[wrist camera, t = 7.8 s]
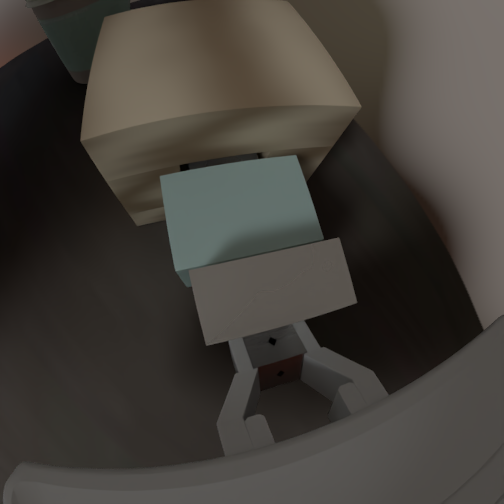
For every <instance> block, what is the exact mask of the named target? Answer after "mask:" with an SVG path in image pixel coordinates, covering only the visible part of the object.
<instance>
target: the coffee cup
mask: <svg viewBox="0 0 504 504" xmlns="http://www.w3.org/2000/svg"><path fill="white" fill-rule="evenodd" d="M26 2H27V3H26V7H27V8H32V9H33V12H34V14H35V15H36V17H37V19H38V21H39V23H40V25H41V26H42V28H43V30H44V31H45V33H46V35H47V37H48V38H49V40H50V42H51V44H52V45H53V47H54V49H55V50H56V52H57V54H58V55H59V57H60V59H61V60H62V62H63V63H64V65H65V67H66V68H67V70H68V71H69V73H70V74H71V76H72V78H73V79H74V80H75V81H76V82H78V83H82V84H88V81H89V76H90V71H91V66H92V61H93V57H94V53H95V49H96V45H97V41H98V37H99V34H100V30H101V27H102V24H103V20H104V17H106V16H110V15H114V14H117V13H121V12H125V11H130V0H26Z"/></svg>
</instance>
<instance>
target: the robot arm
mask: <svg viewBox="0 0 504 504" xmlns="http://www.w3.org/2000/svg"><path fill="white" fill-rule="evenodd" d="M228 342H229V347H230V352H231V357H232V361H233V365H234V368H235V371H236V374H235V375H234V378H233V381H232V383H231V386H230V389H229V392H228V394H227V397H226V400H225V402H224V405H223V408H222V410H221V413H220V416H219V418H218V421H217V428H218V432H219V435H220V439H221V443H222V446H223V450H224V454H225V456H224V457H219V458H214V459H209V460H204V461H198V462H191V463H185V464H177V465H169V466H159V467H146V468H126V469H95V468H76V467H64V466H54V465H46V464H40V463H34V462H27V461H24V462H21V463H20V464H19V465H18V466H17V467H16V468H15V470H14V471H13V473H12V474H11V475H10V477H9V478H8V480H7V482H6V484H5V487H4V493H3V504H504V315H502V316H500V317H499V318H498V319H497V320H495V321H494V322H493V323H492V324H491V325H490V326H489V327H488V328H486V329H485V330H484V331H483V332H482V333H480V334H479V335H478V336H477V337H476V338H474V339H473V340H472V341H471V342H469V343H468V344H467V345H465V346H464V347H463V348H462V349H460V350H459V351H458V352H456V353H455V354H454V355H452V356H451V357H449V358H448V359H447V360H445V361H444V362H442V363H441V364H439V365H438V366H436V367H435V368H433V369H432V370H430V371H429V372H427V373H426V374H424V375H423V376H421V377H420V378H418V379H416V380H415V381H413V382H411V383H410V384H408V385H406V386H405V387H403V388H401V389H400V390H398V391H396V392H394V393H392V394H391V395H388V393H387V392H386V390H385V388H384V387H383V385H382V384H381V382H380V381H379V379H378V378H377V376H376V375H375V373H374V372H373V371H372V370H370V369H368V368H366V367H364V366H362V365H360V364H357V363H355V362H353V361H351V360H349V359H347V358H345V357H343V356H341V355H339V354H337V353H335V352H333V351H331V350H329V349H327V348H325V347H322V348H321V347H320V346H319V344H318V342H317V341H316V339H315V337H314V336H313V334H312V332H311V331H310V329H309V327H308V326H307V324H306V322H305V321H304V320H303V321H300V322H296V323H293V324H290V325H286V326H283V327H279V328H275V329H272V330H268V331H265V332H261V333H257V334H253V335H249V336H245V337H242V338H238V339H233V340H229V341H228ZM299 379H301V381H303V382H304V383H306V384H307V385H309V386H310V387H312V388H313V389H314V390H316V391H317V392H319V393H320V394H322V395H323V396H325V397H326V398H328V399H329V400H331V401H333V404H332V406H331V409H330V411H329V413H328V417H329V419H330V421H331V423H330V424H328V425H325V426H323V427H320V428H318V429H315V430H313V431H310V432H307V433H305V434H302V435H299V436H296V437H293V438H290V439H287V440H284V441H281V442H278V443H275V442H274V439H273V437H272V434H271V432H270V429H269V427H268V424H267V422H266V419H265V417H264V416H263V415H260V414H258V415H255V412H256V408H257V404H258V400H259V396H260V391H264V390H267V389H270V388H273V387H276V386H279V385H282V384H286V383H289V382H292V381H296V380H299Z"/></svg>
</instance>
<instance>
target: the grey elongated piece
mask: <svg viewBox="0 0 504 504" xmlns="http://www.w3.org/2000/svg"><path fill="white" fill-rule="evenodd" d="M256 159H258V156H257V153H251V154H244V155H236V156H229V157H223V158H216V159H210V160H204V161H198V162H193V163H187V164H186V165H187V170H192V169H198V168H204V167H209V166H215V165H222V164H228V163H235V162H241V161H249V160H256ZM188 271H189V275H190V280H191V285H192V289H193V294H194V298H195V302H196V307H197V311H198V315H199V319H200V323H201V327H202V331H203V335H204V339H205V343H206V346H208V345H212V344H217V343H221V342H225V341H229V340H233V339H238V338H242V337H245V336H249V335H253V334H257V333H261V332H265V331H268V330H272V329H275V328H279V327H283V326H286V325H290V324H293V323H296V322H300V321H303V320H306V319H310V318H313V317H316V316H319V315H322V314H325V313H329V312H332V311H335V310H338V309H341V308H344V307H347V306H350V305H352V304H355V303H357V300H356V296H355V292H354V288H353V285H352V281H351V277H350V273H349V270H348V266H347V263H346V259H345V256H344V252H343V249H342V245H341V242H340V239H339V238H334V239H330V240H325V241H321V242H316V243H312V244H307V245H303V246H298V247H294V248H289V249H284V250H280V251H275V252H271V253H266V254H262V255H257V256H252V257H248V258H243V259H239V260H234V261H229V262H225V263H220V264H216V265H211V266H206V267H202V268H197V269H192V270H188Z"/></svg>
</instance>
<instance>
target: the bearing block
mask: <svg viewBox="0 0 504 504" xmlns="http://www.w3.org/2000/svg"><path fill="white" fill-rule="evenodd" d="M360 109H361V105H360V103H359V101H358V99H357V98H356V96H355V94H354V92H353V91H352V89H351V87H350V86H349V84H348V82H347V81H346V79H345V78H344V76H343V74H342V73H341V71H340V70H339V68H338V67H337V65H336V64H335V62H334V61H333V59H332V58H331V56H330V55H329V53H328V52H327V51H326V49H325V48H324V46H323V45H322V43H321V42H320V41H319V39H318V38H317V37H316V35H315V34H314V33H313V31H312V30H311V29H310V27H309V26H308V25H307V23H306V22H305V21H304V20H303V18H302V17H301V16H300V15H299V14H298V12H297V11H296V10H295V9H294V8H293V6H292V5H291V4H290V3H289V2H288V1H282V0H191V1H182V2H174V3H167V4H160V5H154V6H149V7H144V8H139V9H134V10H130V11H125V12H121V13H117V14H114V15H110V16H106V17H104V20H103V24H102V27H101V30H100V34H99V37H98V41H97V45H96V49H95V53H94V57H93V61H92V66H91V71H90V76H89V81H88V86H87V92H86V98H85V105H84V113H83V121H82V130H81V143H82V145H83V146H84V148H85V149H86V151H87V153H88V154H89V156H90V157H91V159H92V160H93V162H94V164H95V165H96V167H97V168H98V170H99V171H100V173H101V174H102V176H103V177H104V179H105V180H106V182H107V183H108V185H109V186H110V188H111V189H112V191H113V192H114V194H115V195H116V196H117V198H118V199H119V201H120V202H121V204H122V205H123V207H124V208H125V209H126V211H127V212H128V214H129V215H130V216H131V218H132V219H133V220H134V222H135V223H136V225H137V226H141V225H145V224H150V223H154V222H159V221H163V220H166V216H165V210H164V203H163V196H162V189H161V182H160V176H162V175H167V174H172V173H177V172H182V171H187V165H186V164H187V163H193V162H198V161H204V160H210V159H216V158H223V157H229V156H236V155H244V154H251V153H257V156H258V159H264V158H272V157H281V156H291V155H296V156H297V159H298V162H299V164H300V167H301V170H302V173H303V176H304V179H305V182H307V181H308V179H309V178H310V177H311V175H312V174H313V173H314V171H315V170H316V168H317V167H318V166H319V164H320V163H321V162H322V160H323V159H324V158H325V156H326V155H327V154H328V152H329V151H330V149H331V148H332V147H333V145H334V144H335V143H336V141H337V140H338V139H339V137H340V136H341V134H342V133H343V132H344V130H345V129H346V128H347V126H348V125H349V124H350V122H351V121H352V120H353V118H354V117H355V115H356V114H357V113H358V111H359V110H360Z"/></svg>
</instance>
